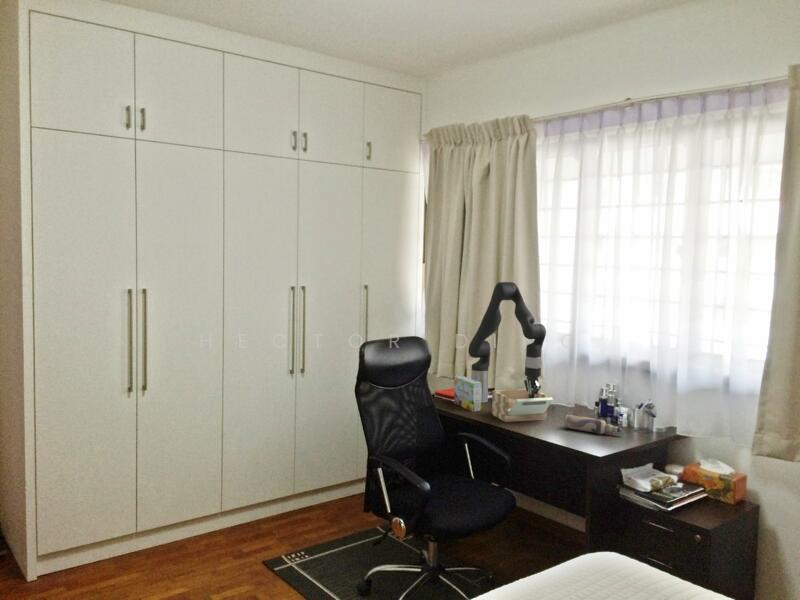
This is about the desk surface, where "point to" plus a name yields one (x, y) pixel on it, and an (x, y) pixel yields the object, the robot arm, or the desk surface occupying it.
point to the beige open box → (506, 400)
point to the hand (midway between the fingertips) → (531, 401)
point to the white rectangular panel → (530, 406)
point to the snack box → (467, 393)
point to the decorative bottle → (589, 425)
